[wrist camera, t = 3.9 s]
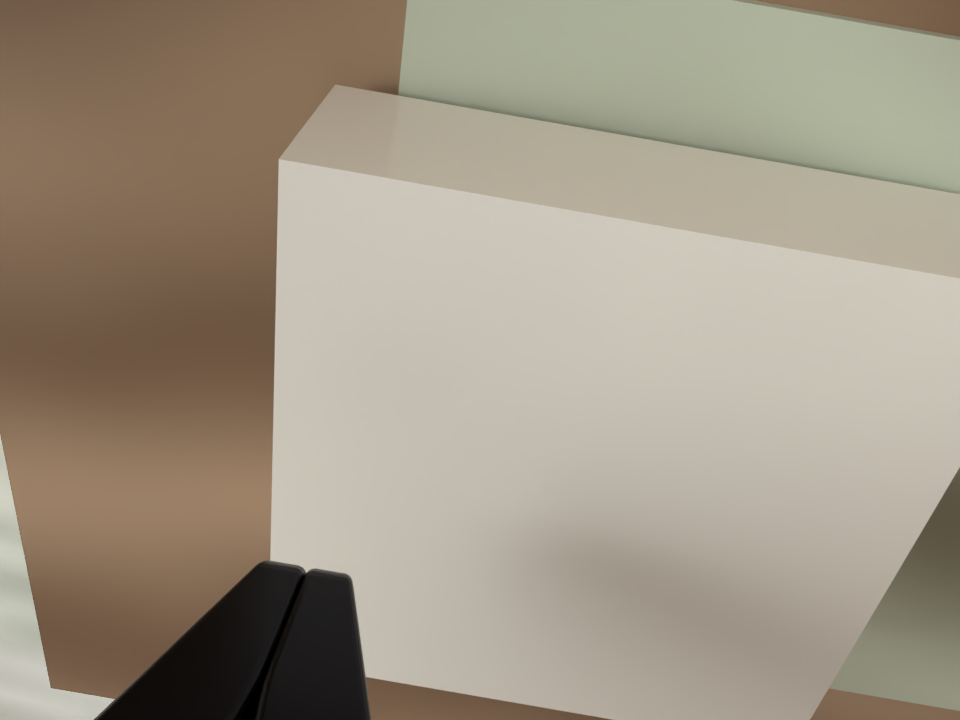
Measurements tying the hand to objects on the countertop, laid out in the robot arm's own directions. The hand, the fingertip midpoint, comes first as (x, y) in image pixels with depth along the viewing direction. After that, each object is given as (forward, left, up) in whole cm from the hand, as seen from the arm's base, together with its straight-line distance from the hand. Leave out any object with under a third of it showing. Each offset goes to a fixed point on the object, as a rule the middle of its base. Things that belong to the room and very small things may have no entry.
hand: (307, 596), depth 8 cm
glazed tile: (0, +1, -3) cm, 3 cm away
